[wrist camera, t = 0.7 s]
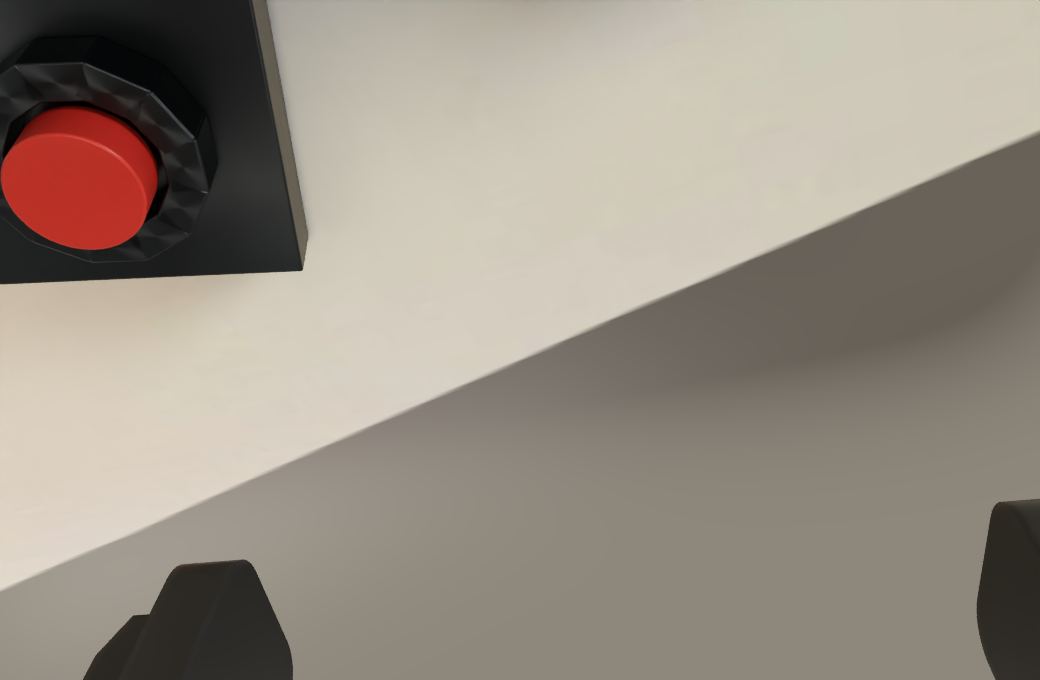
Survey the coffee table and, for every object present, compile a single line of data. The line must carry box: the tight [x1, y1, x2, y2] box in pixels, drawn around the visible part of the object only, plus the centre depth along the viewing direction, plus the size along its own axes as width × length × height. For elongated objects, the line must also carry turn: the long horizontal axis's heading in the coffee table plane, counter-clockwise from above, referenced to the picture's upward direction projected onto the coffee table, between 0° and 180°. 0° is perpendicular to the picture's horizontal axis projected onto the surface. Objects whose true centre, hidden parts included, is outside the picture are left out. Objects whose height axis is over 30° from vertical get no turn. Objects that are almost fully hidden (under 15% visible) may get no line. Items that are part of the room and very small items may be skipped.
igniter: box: [0, 0, 308, 284], centre depth 29 cm, size 11×11×4 cm
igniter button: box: [1, 106, 159, 250], centre depth 27 cm, size 4×4×2 cm
